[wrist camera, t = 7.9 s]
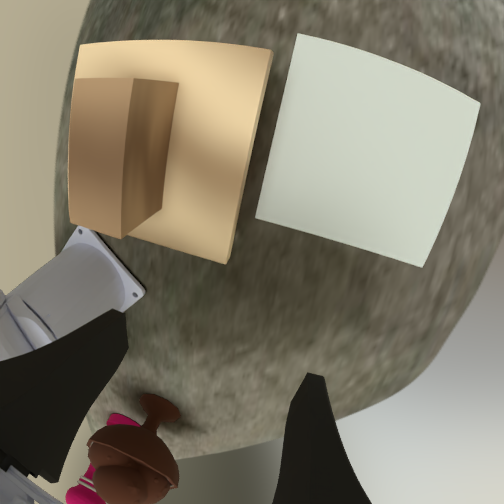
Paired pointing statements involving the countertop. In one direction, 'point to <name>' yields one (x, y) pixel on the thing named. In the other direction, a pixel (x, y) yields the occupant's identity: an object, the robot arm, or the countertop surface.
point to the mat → (365, 151)
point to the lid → (164, 140)
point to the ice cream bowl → (135, 457)
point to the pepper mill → (84, 495)
